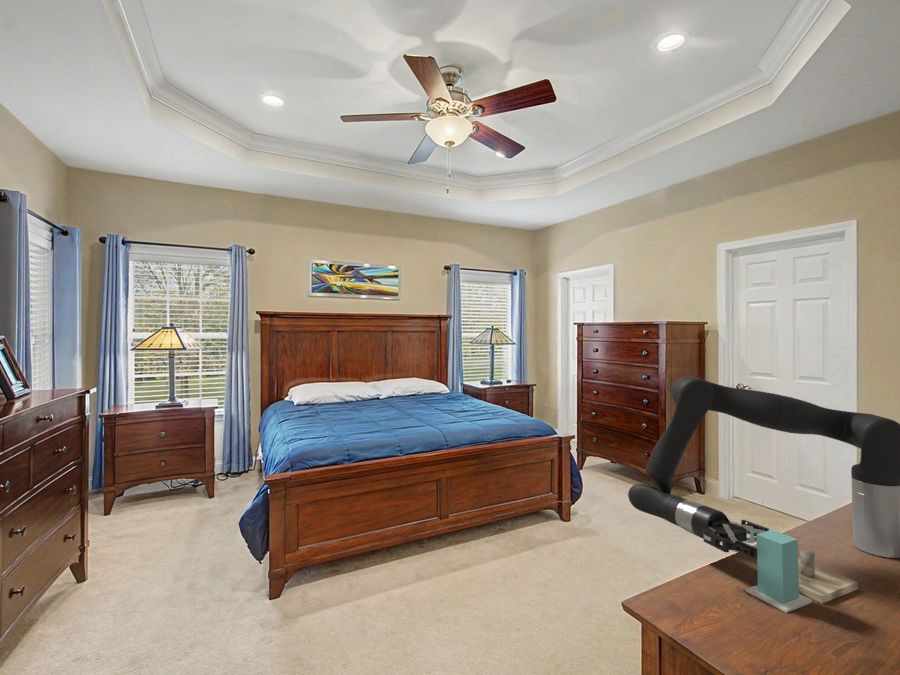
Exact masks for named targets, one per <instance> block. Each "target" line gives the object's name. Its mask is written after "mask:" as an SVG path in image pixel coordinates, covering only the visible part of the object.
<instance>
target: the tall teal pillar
mask: <svg viewBox="0 0 900 675" xmlns="http://www.w3.org/2000/svg"><path fill="white" fill-rule="evenodd" d="M756 536H757V537H756ZM756 536H755V537H756V538H757V542H756V549H757V558H756V563H757V564H756V565H757V568H756V569H757V570H756V571H757V573H756V574H757V585H758V591H759V592H761V593H763V594H764V595H766V596H768V597H770V598H772V599H774V600H776V601H778V602H780V603H782V604H785V603H788V602H790V601H792V600H795V599H797V598H799V594H800V593H799V576H798V558H799V546H798V543H799V542H798V540H799V539H798V538H795V537H792V536H790V535H787V534H784V533H782V532H780V531H776V530H774V529H769V531H766V532H762V533H759V534H756Z"/></svg>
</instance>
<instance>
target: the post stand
mask: <svg viewBox="0 0 900 675" xmlns="http://www.w3.org/2000/svg"><path fill="white" fill-rule="evenodd" d="M799 554H800V556H799V557H798V576H799V594H800V595H802V596H805V597H807V598H809V599H811V600H814V601H816V602H819V603H821V604H825V603H828V602H829V601H832V600H834V599H836V598H839V597H842V596H844V595H847V594H850V593H852V592H854V591H857V590H858V587H859V586H858V581H855V580H853V579H851V578H848V577H846V576H843V575H841V574H838V573H836V572H834V571H832V570H828V569H827V568H825V567H821V566H819V565H817V564H815V553H814V551H813V550H809V549H805V548H804V549H800V550H799Z"/></svg>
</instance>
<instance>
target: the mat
mask: <svg viewBox="0 0 900 675" xmlns="http://www.w3.org/2000/svg"><path fill="white" fill-rule="evenodd" d="M745 592H746V593H748V594H750V595H752V596H754V597H756V598H757V599H759V600H761V601H763V602H765V603H767V604H769V605H771V606H772V607H774V608H777V609H779V610H780V611H782V612H784V613H786V614H787V613H791V612H793V611H794V610H797V609H800V608H802V607H805V606H808V605H810V604H812V603H813V599H812V598H809V597H807V596H805V595H803V594H801V593H799V598H797V599H795V600H792V601H790V602H788V603H785V604H782V603H780V602H778V601H776V600H774V599H772V598H770V597H768V596H766V595H764V594H763V593H761V592H759V591H758V584H757V585H754V586H750V587H748V588H746V589H745Z"/></svg>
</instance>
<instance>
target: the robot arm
mask: <svg viewBox="0 0 900 675" xmlns="http://www.w3.org/2000/svg"><path fill="white" fill-rule="evenodd" d="M670 394H671V395H670V396H671V398H672V399H673V401H674V402H675V403H676V404H675V409H674V412H673V415H672V418H671V420H670V422H669V424H668V426H667V428H666V429H665V431H663V434H662V435H661V436H660V438H659V439H658V441H657V443H656V444H655V446H654V447H653V450H652V452H651V455H650V456H649V460H648V462H647V464H646V466H645V473H646V475H647V476H648V477H650V478H651V483H650V485H649V484H644V483H635V484H633V485H632V486H631V487H630V488H629V490H628V493H627V496H628V501H629V503H630V504H631V505H632V506H633V507H634V508H635V509H636V510H638V511H639V512H642V513H646V514H649V515H650V516H651V515H652V516H654V517H657V518H660V519H663V520H665V521H666V522H669V523H671V524H673V525H675V526H677V527H678V528H679V527H680V528H682V529H683V530H684V531H686V532H688V533H690V534H693V536H694V535H695V536H696V537H698V538H701V539H703V542H704V543H706V544H708V545H710V546H712V547H714V548H715V549H718V550H720V551H721V552H724V553H730V551H732V552H734V553H737V552H738V553H740V554H742V555H745V556H747V557H749V558H750V559H752V560H753V559H757V547H756V546H753V545H750V544H754V543H755V542H756V543H757V536H756V534H759V533H762V532H766V531H769V530H770V528H768V527H765V526H762V525H759V524H756V523H754V522H751V521H748V520H746V519H741V520H740V522H741V523H739V522H735V521H731V520H730V519H729V518H728V516H727V515H726V514H725V513H724V512H723V511H721V510H718V509H715V508H713V507H711V506H708V505H705V504H702V503H700V502H697V501H693V500H689V499H686V498H683V497H681V496H678V495H675V494H671V493H672V486H673V477H674V476H675V475H676V474H675V473H676V472H677V469H678V466H679V464H680V462H681V459H682V457H683V455H684V452H685V450H686V449H687V446H688V444H689V442H690V440H691V438H692V436H694V433H695V431H696V429H697V428H698V426H699V424H700V423H701V421H702V420H703V418H705V416H706V415H707V413H708V411H711V412H717V413H721V414H724V415H728V416H731V417H733V418H735V419H739V420H741V421H743V422H747V423H749V424H753V425H755V426H759V427H763V428H766V429H770V430H774V431H780V432H783V433H790V434H797V435H814V436H815V435H816V436H822V437H826V438H829V439H832V440H836V441H840V442H842V443H845V444H849V445H850V446H853V447H855V448H858V449H860V460H859V463H855V464H853V465H852V466H851V469H850V470H851V471H850V472H851V474H850V475H851V476H850V477H851V479H850V480H851V509H852V511H851V512H852V544H853V546H854V547H855V548H856V549H859V550H860V551H862V552H865V553H867V554H871V555H875V556H878V557H883V558H888V559H890V558H891V559H898V558H900V423H899V422H897V421H896V420H893V419H891V418H889V417H888V418H887V417H884V416H880V415H876V414H872V413H863V412H854V411H847V410H841V409H840V410H837V409H832V408H827V407H824V406H820V405H817V404H815V403H812V402H810V401H809V402H808V401H806V400H802V399H799V398H794V397H792V396H786V395H781V394H778V393H772V392H765V391H760V390H754V389H753V390H752V389H744V388H736V387H731V386H730V387H729V386H726V385H722V384H718V383H714V382H711V381H708V380H705V379H702V378H700V377H698V376H694V375H686V376H685V375H684V376H682V377H679V378H677V379H676V380H674V381H673V383H672V384H671V386H670ZM748 535H749V537H748ZM721 544H722V545H721Z"/></svg>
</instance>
